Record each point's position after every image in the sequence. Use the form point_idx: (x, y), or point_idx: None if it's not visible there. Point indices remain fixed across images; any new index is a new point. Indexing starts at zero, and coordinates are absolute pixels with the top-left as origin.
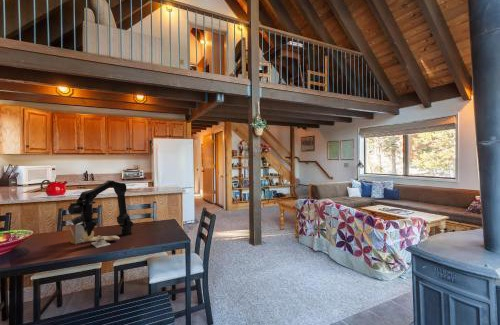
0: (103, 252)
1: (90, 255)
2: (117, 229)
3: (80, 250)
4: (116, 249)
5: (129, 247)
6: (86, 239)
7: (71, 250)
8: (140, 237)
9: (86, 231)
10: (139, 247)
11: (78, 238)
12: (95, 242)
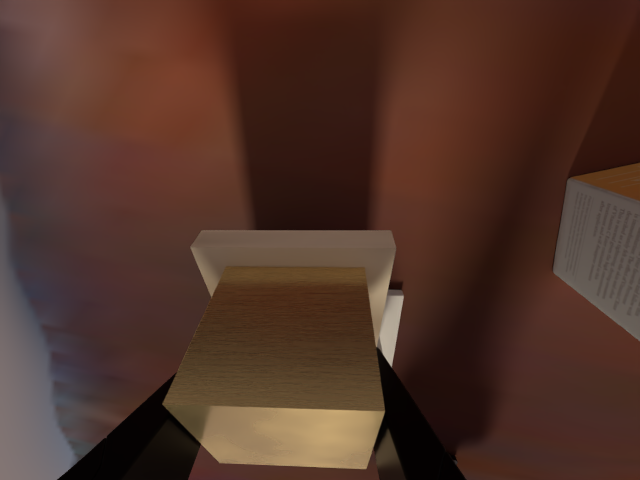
0: (56, 289)
1: (4, 198)
2: (611, 476)
3: (241, 163)
4: (94, 357)
5: (102, 405)
6: (213, 285)
7: (320, 76)
8: (279, 476)
9: (253, 422)
10: (74, 427)
11: (618, 238)
12: (383, 320)
